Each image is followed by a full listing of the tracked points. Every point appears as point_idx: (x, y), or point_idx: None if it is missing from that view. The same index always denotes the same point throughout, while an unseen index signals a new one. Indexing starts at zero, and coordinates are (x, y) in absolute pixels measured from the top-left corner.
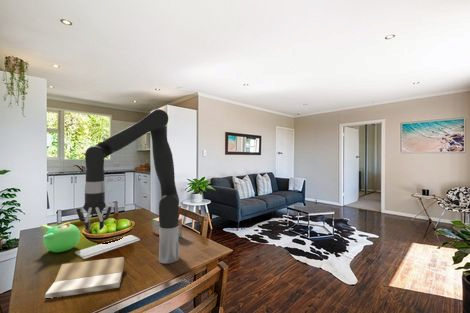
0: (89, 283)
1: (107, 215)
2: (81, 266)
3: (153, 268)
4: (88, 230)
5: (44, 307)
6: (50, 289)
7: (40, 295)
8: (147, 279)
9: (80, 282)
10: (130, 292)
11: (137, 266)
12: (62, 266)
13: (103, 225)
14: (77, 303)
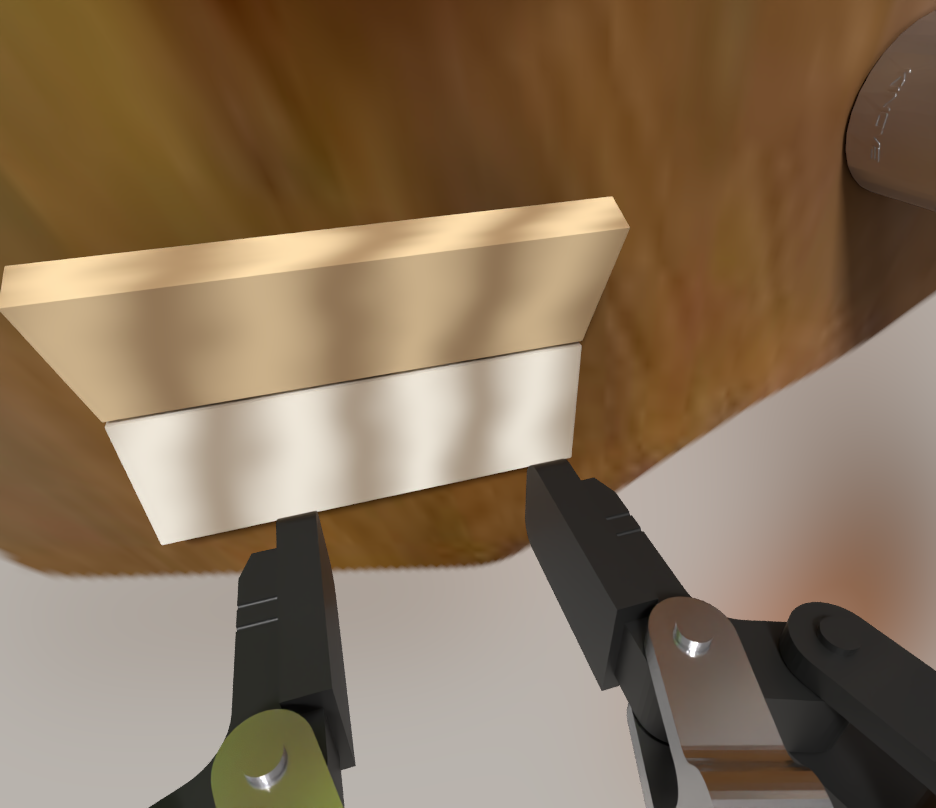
0: (397, 459)
1: (880, 803)
2: (248, 319)
3: (772, 243)
4: (332, 586)
5: (220, 568)
6: (158, 508)
7: (93, 486)
8: (707, 376)
9: (328, 445)
10: (613, 477)
11: (678, 183)
12: (34, 328)
13: (619, 523)
14: (380, 543)
